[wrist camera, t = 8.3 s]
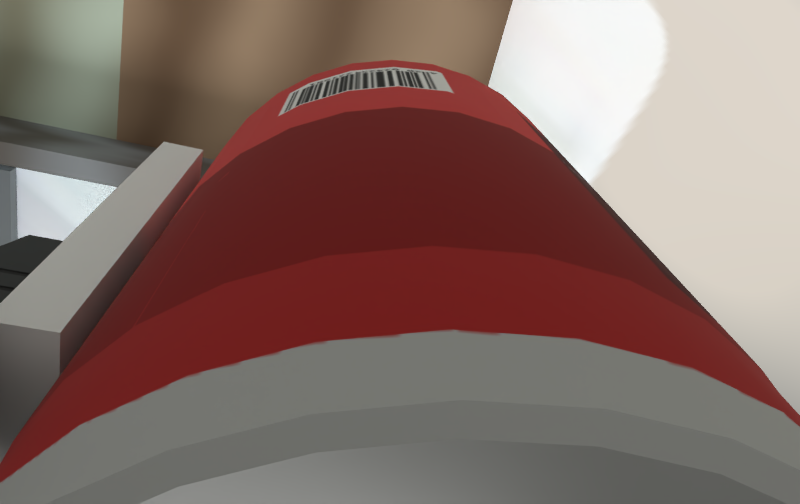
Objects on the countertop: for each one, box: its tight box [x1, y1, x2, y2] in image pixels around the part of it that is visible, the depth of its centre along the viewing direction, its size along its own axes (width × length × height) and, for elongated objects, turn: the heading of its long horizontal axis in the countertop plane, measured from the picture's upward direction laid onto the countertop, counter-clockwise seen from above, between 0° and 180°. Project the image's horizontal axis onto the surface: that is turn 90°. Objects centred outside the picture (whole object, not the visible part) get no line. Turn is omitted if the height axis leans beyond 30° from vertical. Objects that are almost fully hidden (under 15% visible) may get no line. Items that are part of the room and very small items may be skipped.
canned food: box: [0, 60, 800, 504], centre depth 10 cm, size 8×8×11 cm
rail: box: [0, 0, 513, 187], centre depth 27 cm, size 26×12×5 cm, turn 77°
